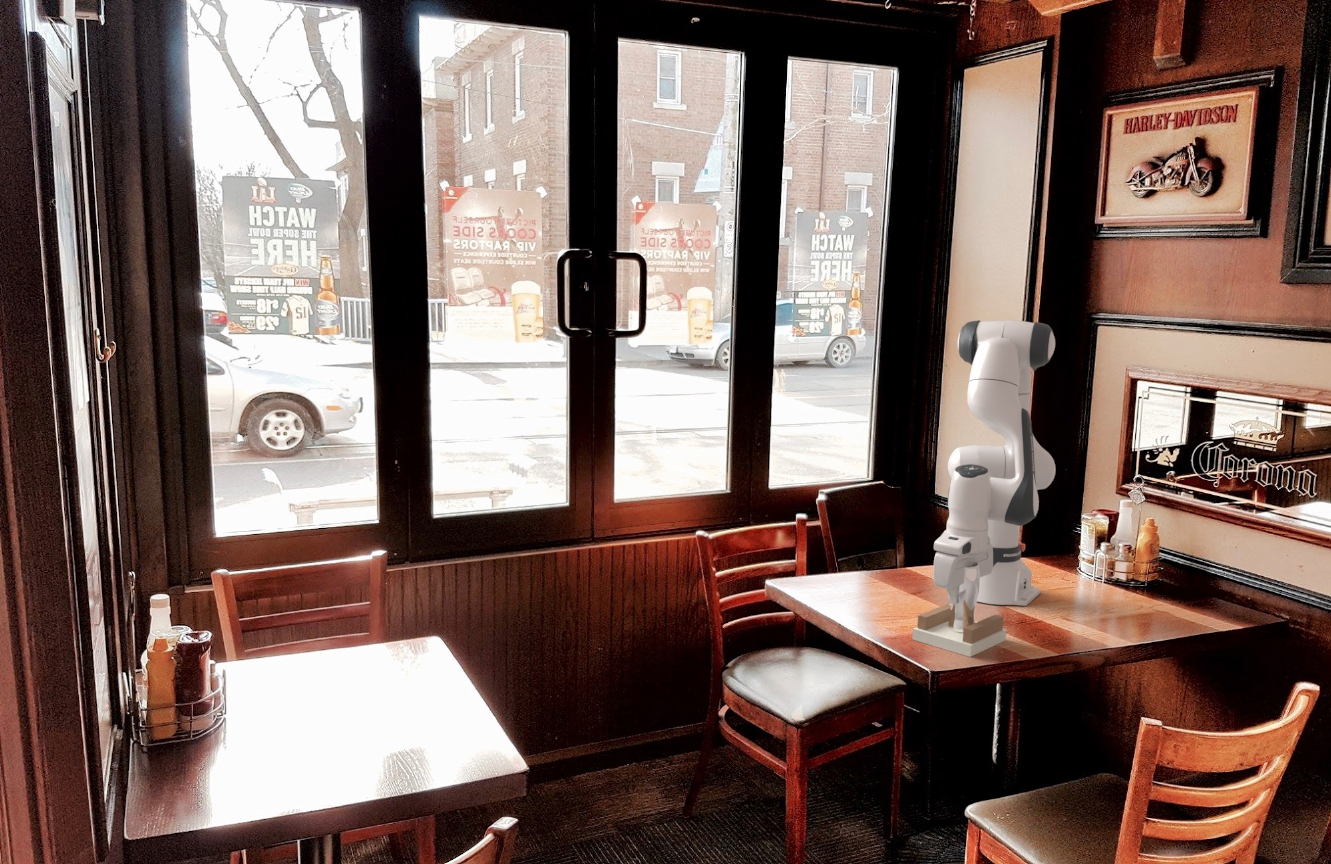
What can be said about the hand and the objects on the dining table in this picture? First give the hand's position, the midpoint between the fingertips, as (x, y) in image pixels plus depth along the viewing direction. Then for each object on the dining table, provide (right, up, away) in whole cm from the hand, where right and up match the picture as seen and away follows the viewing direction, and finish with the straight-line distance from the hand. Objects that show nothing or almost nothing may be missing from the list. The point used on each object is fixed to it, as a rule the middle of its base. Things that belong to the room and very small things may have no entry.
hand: (962, 600), depth 218 cm
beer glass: (0, -7, +1) cm, 7 cm away
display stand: (0, -9, +1) cm, 9 cm away
